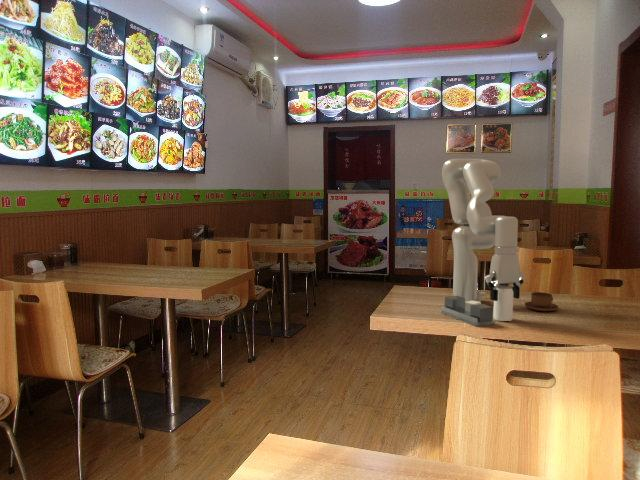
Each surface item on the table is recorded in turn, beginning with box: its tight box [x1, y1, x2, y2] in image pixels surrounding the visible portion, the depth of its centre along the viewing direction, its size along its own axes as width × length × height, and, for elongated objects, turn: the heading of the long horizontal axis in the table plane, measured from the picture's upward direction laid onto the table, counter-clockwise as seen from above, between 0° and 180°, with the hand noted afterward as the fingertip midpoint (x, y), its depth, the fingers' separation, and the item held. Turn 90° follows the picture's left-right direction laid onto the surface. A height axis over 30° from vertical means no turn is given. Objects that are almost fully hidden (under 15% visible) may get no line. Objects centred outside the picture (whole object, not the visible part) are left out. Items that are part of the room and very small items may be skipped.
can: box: [493, 284, 514, 322], centre depth 179 cm, size 6×6×12 cm
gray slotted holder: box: [440, 295, 496, 328], centre depth 181 cm, size 8×20×6 cm, turn 22°
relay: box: [465, 300, 482, 312], centre depth 190 cm, size 5×4×4 cm
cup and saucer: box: [524, 291, 559, 312], centre depth 195 cm, size 12×12×6 cm
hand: (504, 299), depth 178 cm, fingers open, 9 cm apart
